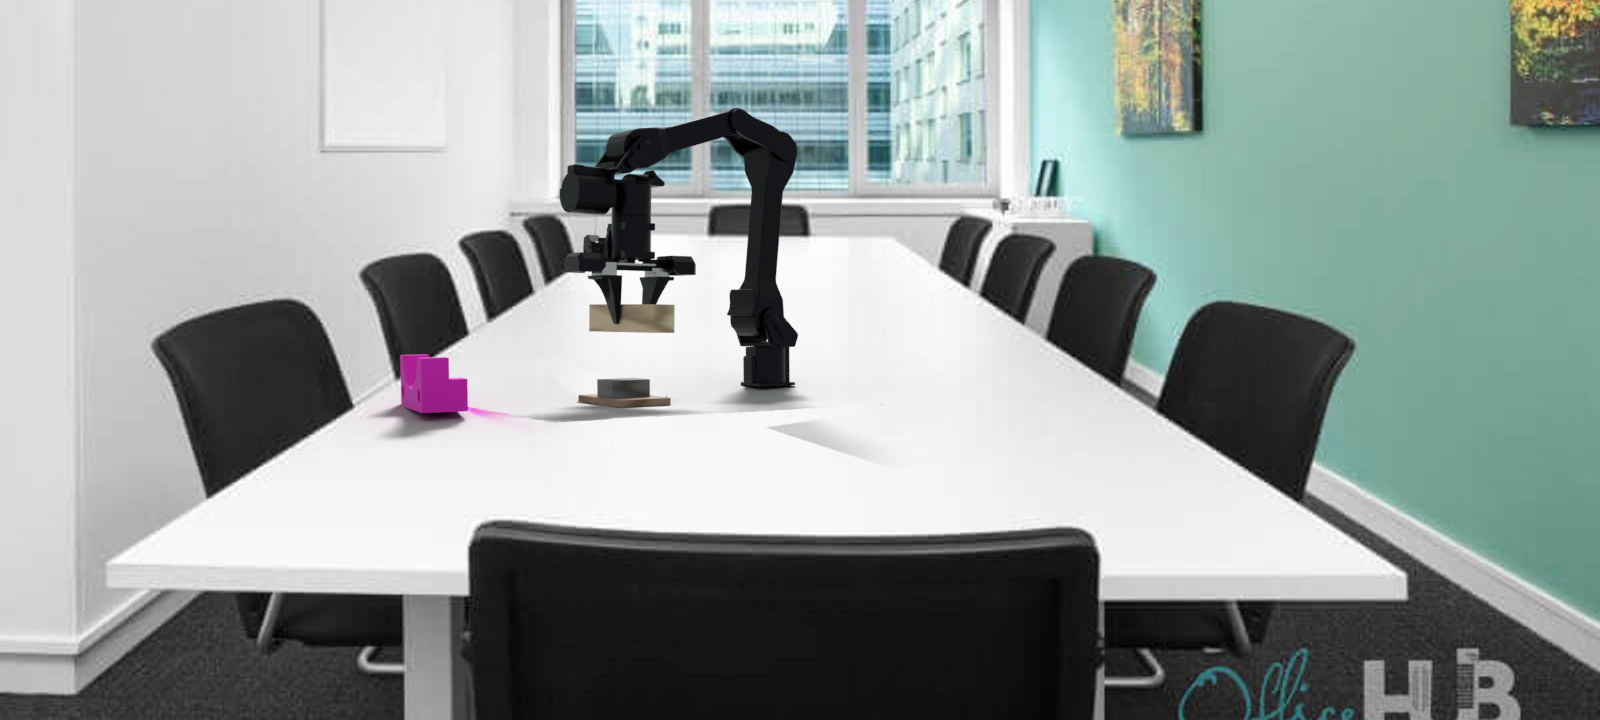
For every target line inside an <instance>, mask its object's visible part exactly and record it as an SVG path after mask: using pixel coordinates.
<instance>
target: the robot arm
mask: <svg viewBox="0 0 1600 720" xmlns="http://www.w3.org/2000/svg"><path fill="white" fill-rule="evenodd" d="M722 138H723V139H725V140H726V142H727V143H728V145H729V146H730V147H731V150H733V152H734V153H735V154H737V155H739V156H740V157H742V158H743V161H744V162H743V164H744V173H745V177H747V180H748V183H749V186H750V188H751V195H750V197H751V198H750V209H749V221H748V231H747V232H748V233H747V248H746V257H745V258H746V259H745V269H744V270H745V272H744V278H743V282H742V283H741V285H740V286H739V288H738V289H735V288H734V289H730V291H729V292H730V293H729V308H728V311H727V313H726V315H727V316H729V317H730V318H729V319H730V321H729V323H730V326H731V328H732V329H733V330H734V332H735V334H736V336H737V340H738V343H739V346H741V347H745V355H743V361H742V362H743V364H742V365H743V369H742V370H743V381H741V382H740V385H741V386H749V387H763V388H764V387H781V386H782V387H783V386H796V381H795V382H793V381H790V377H791V376H790V373H791V371H790V370H791V369H790V348H793V347H796V345H797V341H798V338H799V333H798V332H797V331H796V329H795V328H794V327H793V326H792V325H791V323H790V322H789V321H788V320H787V319H786V317H785V311H784V309H785V308H784V299H783V297H782V294H781V292H780V289H779V287H778V284H777V270H778V269H777V268H778V258H779V245H780V233H781V221H782V220H781V219H782V207H783V206H782V205H783V195H784V190H785V188H786V187H787V185H788V183H789V181H790V179H791V178H792V176H793V174H794V171H795V166H796V161H797V157H798V145H797V142H796V141H795V140H794V138H793V137H792V135H790V134H789V133H787V132H785V131H780V130H779V129H778V128H776V127H775V126H774V125H771V124H769V123H768V122H765V121H763V120H760V119H758V118H756V117H754V116H753V115H751V114H750V113H748V112H747V111H746V110H744V109H743V108H740V107H733V108H729V109H722V110H720V111H718V112H717V113H714V114H711V115H707V116H704V117H700V118H696V119H692V120H688V121H685V122H682V123H678V124H674V125H670V126H667V127H658V126H657V127H640V128H634V129H628V130H624V131H619V132H615V133H613V134H612V135H610V136H609V137H608V140H607V143H606V147H605V151H604V153H603V154H602V155H601V157H600V158H599V160H598V161H597V162H596V164H595V165H594V166H593V167H592V166H586V165H584V164H579V163H578V164H577V163H575V164H568V166H567V173H566V174H565V176H564V178H563V179H562V183H561V188H559V201H560V205H561V208H562V209H563V211H564V212H565V213H569V214H570V213H571V214H583V215H585V214H586V215H600V216H604V215H607V213H608V212H609V211H610V210H611V223H608V224H607V226H606V227H607V228H606V235H605V237H600V236H599V235H598V234H587V235H585V236H584V237H583V244H582V245H583V246H582V248H583V250H582V251H580V252H571V253H570V252H569V253H568V254H567V255H566V256H565V258H564V264H563V265H564V268H563V269H564V271H563V272H564V273H567V274H569V273H573V274H585V273H586V272H588V273H589V272H591V275H587V279H588V280H593V281H594V283H596V285H597V286H598V287H599V288H600V291H601V293H602V295H603V297H604V300H605V304H607V306H608V309H609V312H610V315H611V318H612V320H613V323H614V324H619V320H620V314H621V304H622V289H623V288H622V287H623V285H622V284H623V275H619V274H618V271H631V272H644V276H641V277H639V282H640V284H641V287H642V293H641V295H642V297H641V298H642V299H641V304H658V301H659V299H660V297H661V295H662V294H663V292H664V290H665V289H666V287H667V285H668V283H669V282H670V281H674V280H675V277H676V276H678V277H679V276H680V277H681V276H683V277H684V276H696V275H697V274H696V272H697V271H696V270H697V269H696V267H697V264H696V262H695V260H694V258H693V257H692V256H691V255H690V256H688V255H687V256H686V255H662V256H657V257H656V252H655V251H652V232H654V231H656V223H653V222H652V188H653V189H654V188H659V187H660V188H662V187H664V186H666V183H665V181H664V180H663V178H661V177H659V176H658V175H657V173H656V171H655V170H653V169H650V170H646V171H644V173H642V174H635V173H633V172H634V171H636V170H642V169H647V168H650V167H652V166H654V165H656V164H658V163H660V162H661V161H663V160H665V159H667V158H668V157H670V156H671V154H673V153H675V152H677V151H681V150H684V149H687V148H690V147H694V146H698V145H701V144H705V143H708V142H711V141H714V140H719V139H722ZM624 174H625V175H624ZM618 175H623V177H622V178H621V179H620V178H618V179H617V178H615V176H618ZM636 261H637V263H636ZM638 262H639V263H638ZM641 262H642V263H641Z"/></svg>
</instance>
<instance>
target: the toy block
mask: <svg viewBox="0 0 1600 720" xmlns="http://www.w3.org/2000/svg"><path fill="white" fill-rule="evenodd" d="M399 358H400V361H399V363H400V365H399V366H400V367H399V369H400V404H401V405H402V406H403V407H404V408H406V409H408V410H411V411H415V412H417V413H420V414H432V413H433V414H434V413H436V414H437V413H457V412H458V413H460V412H461V413H462V412H469V406H468V405H469V404H468V401H469V399H468V397H469V396H468V378H464V377H450V363H449V362H450V361H449V360H450V359H449V357H446V356H438V357H437V356H436V357H435V356H434V357H433V356H432V357H430V354H427V353H426V354H425V353H424V354H423V353H422V354H400V355H399Z"/></svg>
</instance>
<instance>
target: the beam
mask: <svg viewBox="0 0 1600 720" xmlns="http://www.w3.org/2000/svg"><path fill="white" fill-rule="evenodd" d="M675 307H676V306H675V304H661V303H660V304H658V303H657V304H642V303H641V304H640V303H639V304H638V303H637V304H635V303H634V304H632V303H631V304H630V303H629V304H624V303H623V304H622V303H621V314H620V320H619V324H614V323H613V320H612V318H611V315H610V312H609V309H608V306H607V303H605V304H589V305H588V308H589V313H588V315H589V318H588V319H589V320H588V321H589V322H588V323H589V326H588V329H589V330H588V331H589V332H598V333H599V332H603V333H608V332H609V333H643V334H645V333H646V334H647V333H648V334H655V333H656V334H668V333H669V334H673V333H675Z"/></svg>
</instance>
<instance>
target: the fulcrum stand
mask: <svg viewBox="0 0 1600 720" xmlns="http://www.w3.org/2000/svg"><path fill="white" fill-rule="evenodd" d="M650 381H651V379H649V378H639V377H624V378H623V377H620V378H598V379H596V385H597V387H596V388H597V393H596V394H594V393H593V394H578V402H580V401H582V402H581V403H585V404H592V405H600V406H605V407H606V406H607V407H613V408H620V409H621V408H635V407H638V408H639V407H654V406H655V407H657V406H671V405H672V404H671V403H672V402H671V400H672V399H671V397H665V396H657V395H651V382H650Z"/></svg>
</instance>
